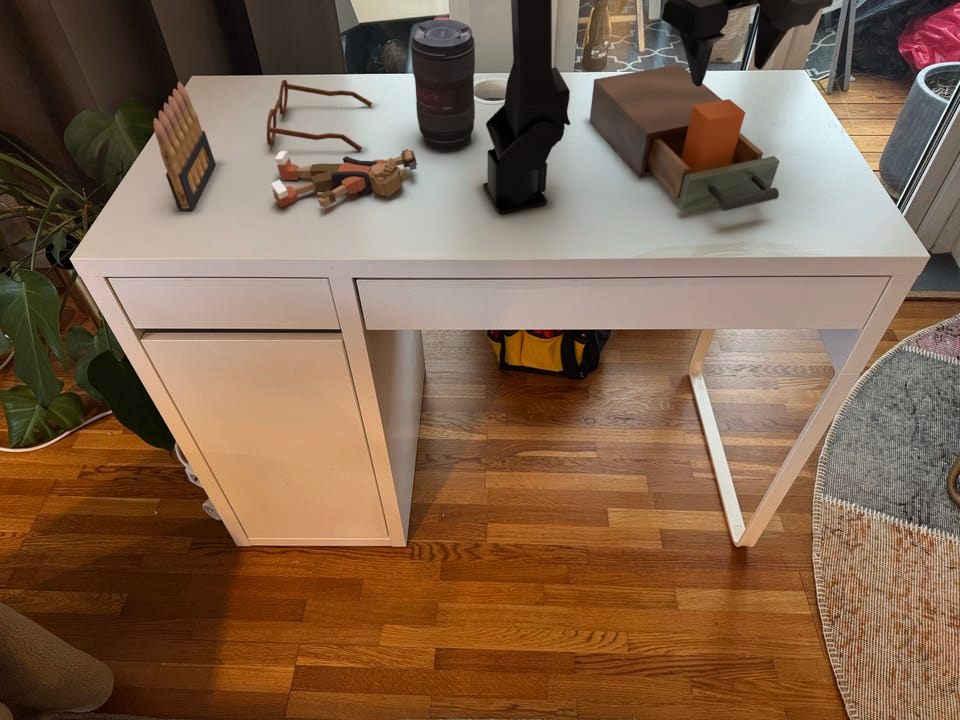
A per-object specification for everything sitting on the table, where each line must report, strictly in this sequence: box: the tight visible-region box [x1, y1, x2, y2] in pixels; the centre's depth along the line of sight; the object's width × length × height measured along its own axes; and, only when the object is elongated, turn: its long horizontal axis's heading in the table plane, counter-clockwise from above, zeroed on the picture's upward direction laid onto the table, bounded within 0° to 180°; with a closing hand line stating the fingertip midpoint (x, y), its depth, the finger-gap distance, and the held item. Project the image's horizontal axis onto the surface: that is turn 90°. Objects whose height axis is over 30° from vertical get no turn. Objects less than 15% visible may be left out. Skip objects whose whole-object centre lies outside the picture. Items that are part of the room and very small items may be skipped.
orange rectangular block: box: [681, 98, 746, 174], centre depth 87 cm, size 5×4×8 cm
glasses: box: [266, 79, 373, 152], centre depth 100 cm, size 13×13×5 cm
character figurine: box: [271, 148, 418, 209], centre depth 90 cm, size 12×5×18 cm
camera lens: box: [410, 18, 476, 152], centre depth 94 cm, size 8×8×15 cm
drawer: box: [646, 130, 780, 214], centre depth 88 cm, size 19×12×5 cm, turn 19°
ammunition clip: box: [153, 81, 217, 212], centre depth 88 cm, size 11×2×12 cm, turn 179°
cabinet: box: [589, 63, 723, 179], centre depth 96 cm, size 15×13×6 cm
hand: (727, 76), depth 83 cm, fingers open, 9 cm apart
